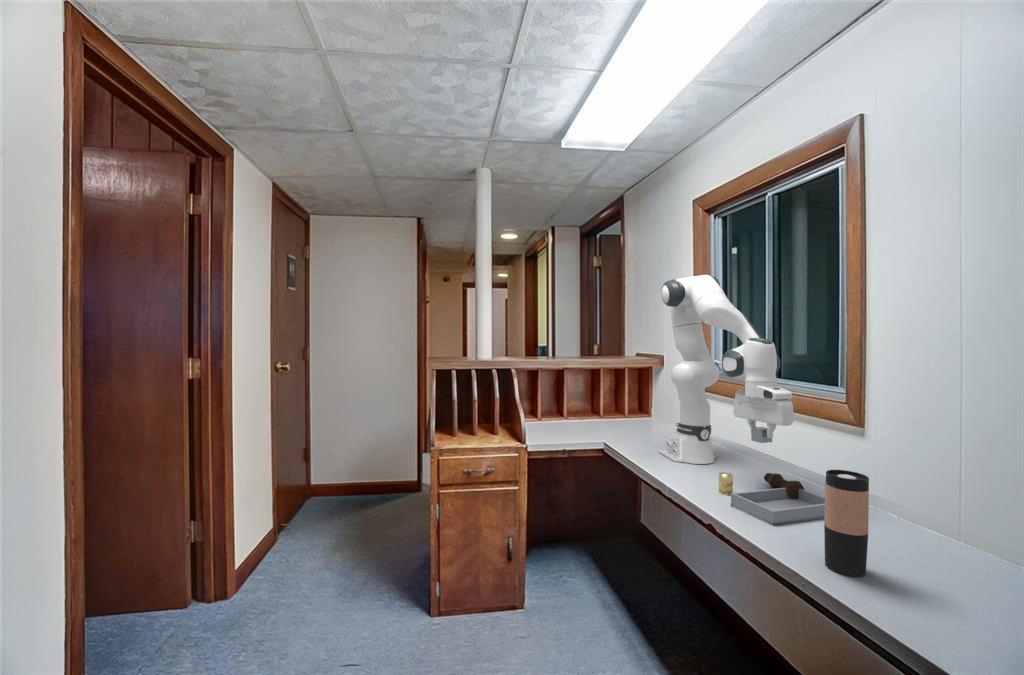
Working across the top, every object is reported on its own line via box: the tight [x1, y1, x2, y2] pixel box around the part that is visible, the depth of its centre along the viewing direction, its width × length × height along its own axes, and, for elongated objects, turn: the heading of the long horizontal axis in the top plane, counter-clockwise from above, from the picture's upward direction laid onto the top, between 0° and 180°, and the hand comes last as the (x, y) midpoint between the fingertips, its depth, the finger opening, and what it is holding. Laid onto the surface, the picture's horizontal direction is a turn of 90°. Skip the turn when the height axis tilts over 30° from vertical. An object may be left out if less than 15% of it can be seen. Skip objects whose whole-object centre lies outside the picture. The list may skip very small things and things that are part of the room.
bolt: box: [763, 472, 805, 499], centre depth 151 cm, size 6×5×15 cm
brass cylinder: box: [718, 471, 734, 496], centre depth 150 cm, size 4×4×6 cm
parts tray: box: [730, 488, 825, 526], centre depth 136 cm, size 15×24×4 cm, turn 108°
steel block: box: [750, 426, 773, 444], centre depth 148 cm, size 4×4×4 cm
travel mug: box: [823, 469, 870, 578], centre depth 102 cm, size 8×8×20 cm
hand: (761, 436), depth 148 cm, fingers closed on steel block, 4 cm apart
